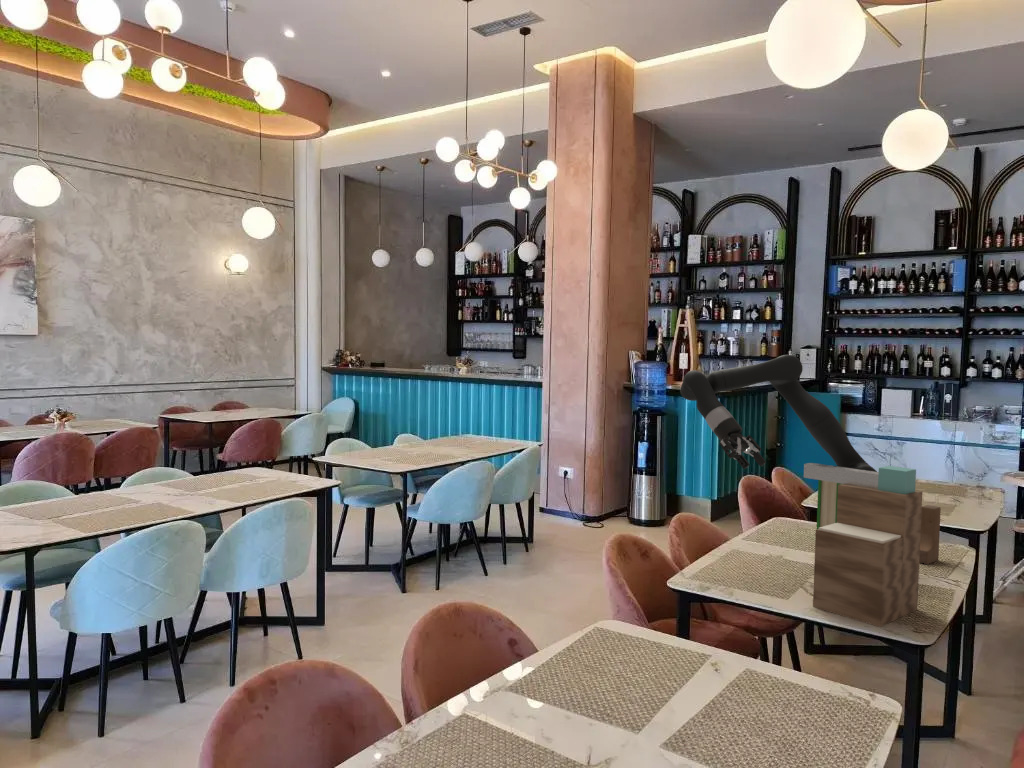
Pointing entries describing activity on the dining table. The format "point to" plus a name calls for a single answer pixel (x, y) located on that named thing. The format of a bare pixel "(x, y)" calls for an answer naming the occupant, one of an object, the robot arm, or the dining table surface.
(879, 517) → the stepped wooden riser
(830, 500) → the hardback book
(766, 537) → the dining table surface
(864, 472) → the mallet
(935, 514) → the wooden block
